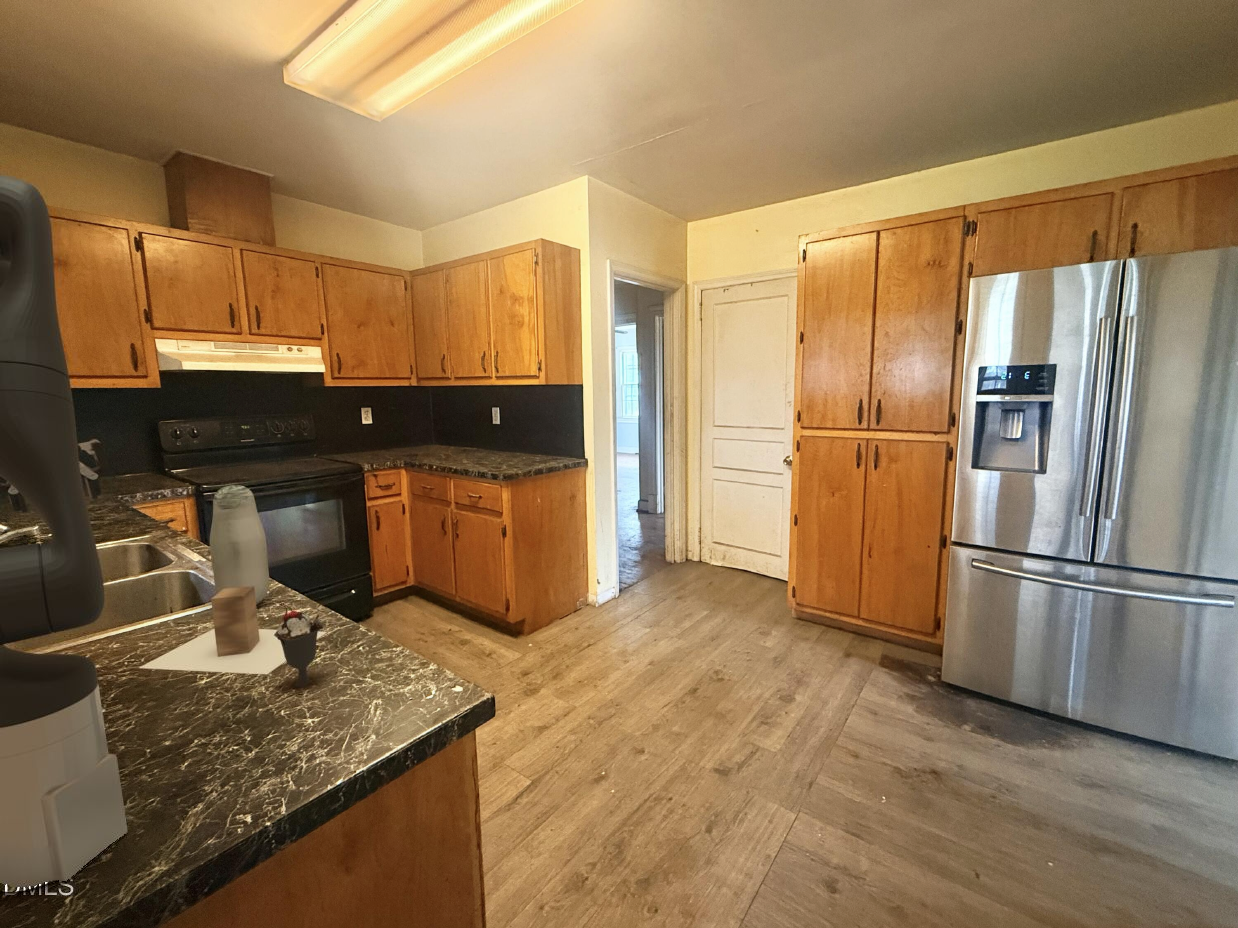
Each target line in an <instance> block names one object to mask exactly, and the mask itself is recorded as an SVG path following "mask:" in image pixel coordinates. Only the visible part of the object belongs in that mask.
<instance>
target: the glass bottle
mask: <svg viewBox="0 0 1238 928" xmlns="http://www.w3.org/2000/svg"><path fill="white" fill-rule="evenodd" d="M267 547H268V546H267V537H266V532H265V529H264V526H263V524H262V521H261V518H260V516H259V513H258V509H257V504H256V500H255V497H254V494H253V492H252V491H251V489H249V488H248V487H246V486H244V485H240V484H236V485H235V484H233V485H226V486H223V487H221V488H220V489H218V490H217V491H216V492H215V494H214V496H213V500H212V521H211V528H210V534H209V551H210V558H211V565H212V573H213V579H214V580H213V581H214V588H215V593H216V594H215V595H217V594H218V593H219V592H220V591H222V590H223V589H228V588H239V587H250V586H254V589H255V599H256V606H257V605H258V604H259V603H261V602H263V600H264V599H265V597H266V596H267V594H268V592H269V590H270V589H269V588H270V573H269V560H268V548H267Z"/></svg>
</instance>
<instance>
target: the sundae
mask: <svg viewBox="0 0 1238 928" xmlns="http://www.w3.org/2000/svg"><path fill="white" fill-rule="evenodd" d="M278 605H279V606H280V607H283V608H284V609H285V610H286V611H285V614H284V615H282V617H281V618H282V620H283V621H282V622H281V623H280V624H279V626H278V628H277V630H278V631H277V632H276V633H275V634H274V636H275V637H277V638H278V640H280V641H281V644H282V648H283V652H284V656H285V659H286V661H285V662H286V663H287V665H288V666H290V667H291V668H293V669H296V670H297V672H298V673H297V674H298V675H297V676H298V678H297V680H296V683H295V684H294V686H295V687H298V688H302V687H306V686H308V685H309V684H311V683H312V682H313V681H312V679H310V678H309V676H308V673H307V672H308V671H307V668H308V667H309V665H311V664H312V663H313V661H314V660H315V658H316V653H317V642H318V639H317V633H318V631H321V630H323V629H324V626H323V624H322V622H321V621H319V617H320V614H317V615H316V617H315V618H314V620H312V619H311V616H310V614H307V613H305V612H298V611H297V610H293V609H291V607H289V605H286V604H285V602H280V603H278ZM287 608H288V609H289V610H290V613H288V609H287ZM307 694H308V693H307V692H305V693H301V694H299V693H298V694H293V696H294V697H295V696H302V695H307Z"/></svg>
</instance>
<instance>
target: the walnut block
mask: <svg viewBox="0 0 1238 928" xmlns="http://www.w3.org/2000/svg"><path fill="white" fill-rule="evenodd" d="M210 601H211V603H210V604H211V611H212V619H213V629H215V638H216V647H217V655H218V657H221V656H229V655H238V654H246V653H250V652H251V651H252V649H253V648H254V647H255V646H256V645H257V644H258V642H259V641H260V638H259V629H260V628H259V620H258V611H257V609H258V608H257V605H256V599H255V589H254V586H250V587H239V588H228V589H223V590H222V591H220V592H219V593H218V594H215V595H214V596H212V597H211V598H210Z"/></svg>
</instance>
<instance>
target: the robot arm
mask: <svg viewBox="0 0 1238 928" xmlns="http://www.w3.org/2000/svg"><path fill="white" fill-rule="evenodd" d="M51 222H52V221H51V217H50V214H49V210H48V206H47V203H46V201H45V199H44V197H43V195H42V194H41V192H40V191H39V189H38V188H37V187H35V186H34V184H32V183H30V182H28V181H26V180H22V179H19V178H15V177H12V176H9V175H5V174H0V477H1V478H3V479H4V480H5V481H6V482H0V493H1V494H7V495H8V499H9V502H10V505H11V507H12V509H13V510H14V511H15V512H20V513H21V515H22V514H28V513H29V510H28V508H27V505H26V501H27V502H28V503H29V504H30V505H31V506H32V507H33V508H34V509H35V511H36V512H37V513H38V514H39V516H40V517H41V519H42V520H43V522H44V523H45V524H46V526H47V528H48V529H49V531H50V533H51V539H50V540H48V541H45V542H41V543H40V542H38V543H29V544H23V545H15V546H8V547H1V548H0V883H2V884H4V885H6V884H7V886H8V885H9V886H10V887H14V888H15V887H21V888H22V887H25V888H26V886H27V887H29V886H36V885H38V884H42V883H44V882H49V881H53V880H59V881H66V882H68V881H69V880H71V879H72V878H73V877H74V876H75V875H77V874H78V873H79V872H80V871H81V870H82V869H81V868H83V866H84V865H86V864H87V863H88V862H89V861H90V860H92V859H93V858H94V857H96V856H97V855H98V854H99V853H100V852H101V851H103V850H104V849H106V848H107V847H108V846H109V845H110V844H112V843H113V842H115V841H116V840H117V839H118V840H120V839H121V838H122V837H123V836H125V835H126V834H127V833H128V825H127V819H126V813H125V812H126V810H125V806H124V799H123V791H122V785H121V779H120V778H121V777H120V772H119V764H118V757H117V755H116V754H114V753H109V749H108V748H109V747H108V741H107V736H106V727H105V721H104V714H103V707H102V701H101V694H100V687H99V680H98V679H99V678H98V673H97V668H96V664H95V663H94V661H93V660H92V659H90V658H89V657H87V656H84V655H80V654H71V653H68V654H67V653H52V654H51V653H50V654H49V653H48V654H47V653H46V654H45V653H31V652H27V651H26V652H25V651H20V650H16V649H14V648H10V647H8V646H6V645H7V644H12V643H17V642H21V641H25V640H29V639H35V638H38V637H43V636H47V635H48V636H49V635H52V634H53V633H54V634H55V633H60V632H64V631H68V630H73V629H77V628H81V627H84V626H88V625H91V624H93V623H95V622H96V621H97V620H98V619H100V617H101V615H102V613H103V610H104V608H105V607H104V605H105V586H104V585H105V584H104V579H103V577H104V576H103V571H102V567H101V563H100V562H101V561H100V557H99V553H98V549H97V545H96V541H95V539H96V538H95V536H94V532H93V526H92V522H91V518H90V513H89V509H88V504H87V501H86V494H85V490H84V485H83V479H82V475H83V476H84V481H85V485H86V488H87V492H88V495H89V498H90V499H91V500H97V499H98V498H99V497H98V496H100V495H102V494H101V493H102V489H101V485H100V481H99V478H100V477H101V476H103V475H108V474H110V473H111V471H112V470H111V467H110V463H109V461H108V457H107V455H106V452H105V449H104V446H103V444H102V443H101V442H100V441H99V440H98V439H96V438H92V439H90V440H89V441H86V442H81V443H78V438H77V437H78V436H77V427H76V426H77V425H76V418H75V417H76V416H75V406H74V399H73V393H72V386H71V380H70V374H69V369H68V363H67V359H66V355H65V354H66V353H65V350H64V343H63V339H62V334H61V333H62V332H61V327H60V321H59V317H58V309H57V306H58V305H57V297H56V296H57V294H56V281H55V279H56V278H55V265H54V263H55V262H54V246H53V244H54V243H53V232H52V225H51ZM83 450H84V451H85V452H87V454H88V455H93V458H94V460H95V463H96V464H95V465H96V466H95V467H93V468H90V467H89V466H87V465H85V464H84V463H82V462H81V461H80V458H79V455H80V454H81V452H82V451H83ZM124 834H125V835H124ZM120 837H121V838H120ZM119 838H120V839H119ZM118 840H117V841H118ZM117 841H116V842H117ZM116 842H115V843H116ZM113 844H114V843H113ZM113 844H112V845H113ZM107 849H108V848H107ZM107 849H106V850H107ZM97 857H98V856H97ZM97 857H96V858H97ZM86 866H87V865H86ZM83 869H84V868H83ZM79 870H80V871H79ZM78 871H79V872H78ZM77 872H78V873H77ZM76 873H77V874H76ZM73 875H74V876H73ZM72 876H73V877H72ZM71 877H72V878H71ZM68 879H69V880H68ZM67 880H68V881H67Z"/></svg>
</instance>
